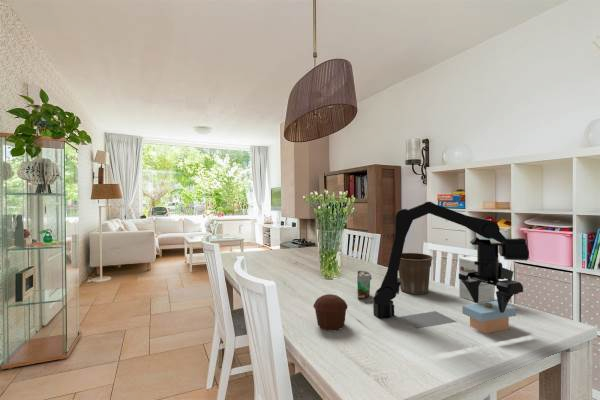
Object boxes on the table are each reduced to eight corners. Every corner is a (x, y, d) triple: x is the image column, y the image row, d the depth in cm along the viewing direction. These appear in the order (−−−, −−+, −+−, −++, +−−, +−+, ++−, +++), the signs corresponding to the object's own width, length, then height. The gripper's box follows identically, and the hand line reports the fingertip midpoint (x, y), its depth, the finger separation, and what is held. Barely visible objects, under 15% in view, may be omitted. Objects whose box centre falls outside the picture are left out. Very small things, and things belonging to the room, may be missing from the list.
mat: (416, 331, 97) (416, 328, 97) (398, 319, 106) (398, 316, 106) (456, 324, 101) (456, 321, 101) (435, 313, 111) (435, 311, 111)
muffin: (351, 321, 106) (350, 292, 106) (343, 334, 96) (343, 303, 96) (319, 317, 110) (318, 289, 110) (308, 329, 100) (308, 299, 100)
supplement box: (458, 296, 130) (457, 257, 130) (474, 293, 133) (473, 255, 133) (478, 303, 121) (478, 261, 121) (495, 300, 124) (494, 259, 124)
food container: (372, 301, 126) (372, 277, 126) (357, 300, 127) (357, 276, 127) (371, 292, 138) (371, 270, 138) (358, 291, 139) (357, 270, 139)
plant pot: (436, 297, 129) (435, 259, 129) (396, 295, 133) (396, 258, 133) (430, 286, 145) (429, 253, 145) (395, 284, 149) (394, 252, 149)
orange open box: (485, 336, 92) (485, 320, 92) (470, 328, 98) (469, 313, 98) (508, 331, 95) (508, 315, 95) (492, 324, 101) (492, 309, 101)
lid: (481, 321, 91) (480, 310, 91) (462, 313, 98) (462, 302, 98) (515, 315, 95) (515, 304, 95) (495, 308, 102) (495, 297, 102)
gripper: (536, 262, 90) (537, 314, 90) (482, 252, 108) (482, 296, 108) (508, 265, 87) (509, 319, 87) (457, 254, 105) (457, 299, 105)
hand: (488, 307), depth 97 cm, fingers open, 9 cm apart
